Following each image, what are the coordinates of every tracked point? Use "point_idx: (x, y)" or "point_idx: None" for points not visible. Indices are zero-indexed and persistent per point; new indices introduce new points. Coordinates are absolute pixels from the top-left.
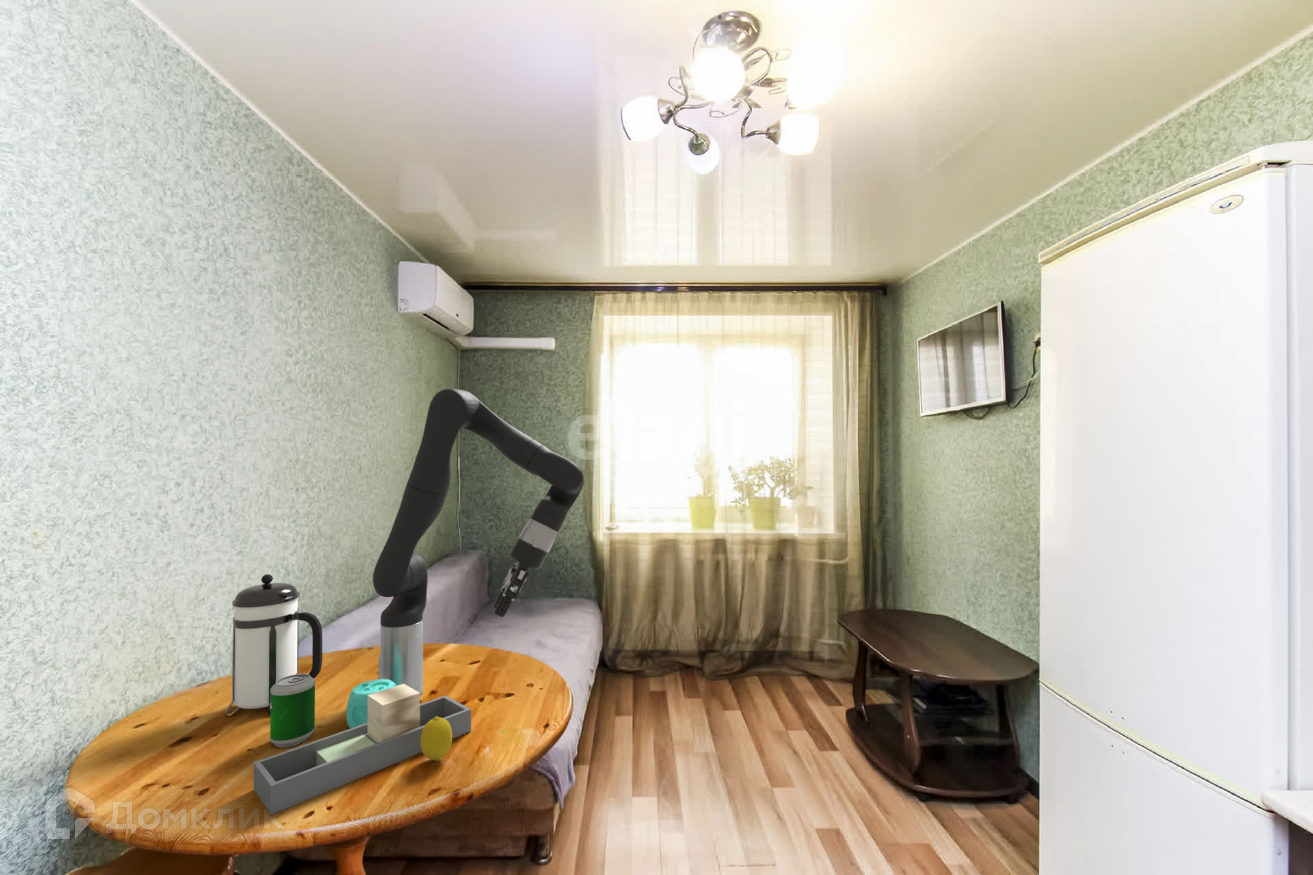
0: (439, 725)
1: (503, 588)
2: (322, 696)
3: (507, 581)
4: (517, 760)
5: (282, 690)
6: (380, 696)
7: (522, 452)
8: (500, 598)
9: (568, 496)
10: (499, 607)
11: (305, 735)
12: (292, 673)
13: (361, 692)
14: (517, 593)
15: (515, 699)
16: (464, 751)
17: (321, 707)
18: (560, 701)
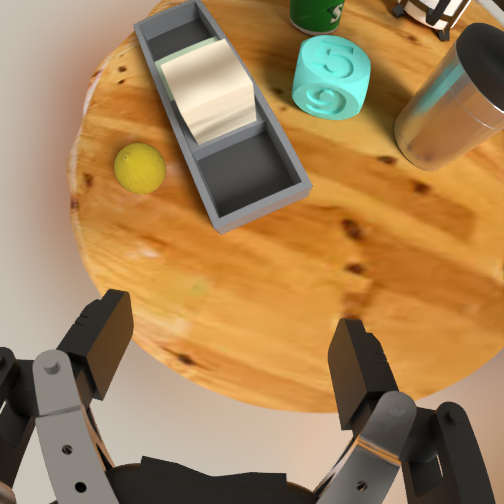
0: (115, 165)
1: (371, 415)
2: (438, 56)
3: (40, 437)
4: (102, 289)
5: None
6: (205, 55)
7: None
8: (349, 369)
9: None
10: (80, 314)
11: (297, 26)
12: (433, 6)
13: (311, 43)
14: (5, 414)
15: (323, 332)
16: (159, 219)
17: (404, 50)
18: (270, 405)
